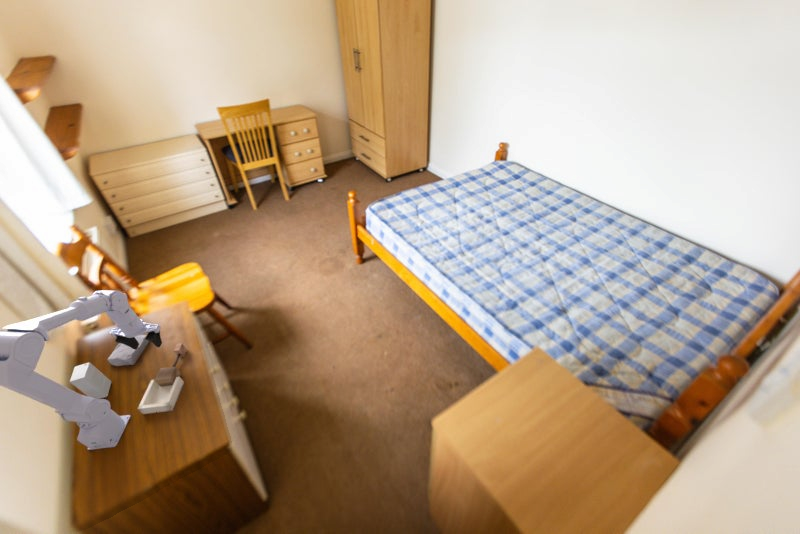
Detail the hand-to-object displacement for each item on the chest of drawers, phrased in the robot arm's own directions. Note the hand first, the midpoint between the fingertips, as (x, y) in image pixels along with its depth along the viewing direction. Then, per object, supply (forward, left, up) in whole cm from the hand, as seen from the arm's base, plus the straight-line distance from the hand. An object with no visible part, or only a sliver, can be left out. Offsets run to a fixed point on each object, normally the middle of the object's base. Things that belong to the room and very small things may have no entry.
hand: (148, 345), depth 118 cm
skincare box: (-10, +15, -9) cm, 20 cm away
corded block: (-4, -7, -8) cm, 12 cm away
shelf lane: (-15, -7, -9) cm, 19 cm away
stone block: (+5, +13, -9) cm, 17 cm away
